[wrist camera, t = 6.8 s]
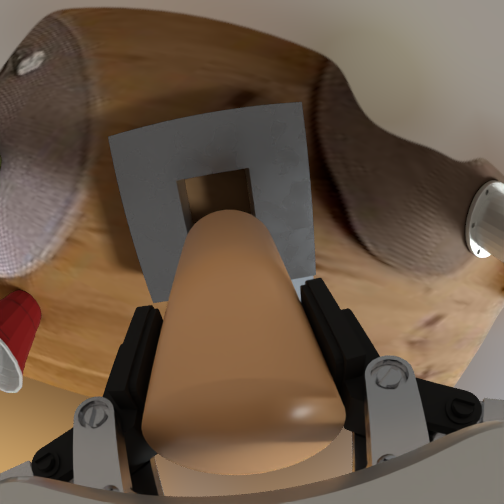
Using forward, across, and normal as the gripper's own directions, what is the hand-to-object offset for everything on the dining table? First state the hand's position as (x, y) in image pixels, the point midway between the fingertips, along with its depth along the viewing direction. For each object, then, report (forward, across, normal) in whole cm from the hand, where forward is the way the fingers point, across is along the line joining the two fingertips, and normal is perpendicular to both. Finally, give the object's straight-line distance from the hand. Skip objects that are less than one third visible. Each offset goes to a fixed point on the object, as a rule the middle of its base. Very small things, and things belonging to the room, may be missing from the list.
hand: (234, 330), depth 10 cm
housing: (+21, +1, 0) cm, 21 cm away
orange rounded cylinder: (+7, 0, 0) cm, 7 cm away
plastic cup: (+20, +31, +9) cm, 38 cm away
